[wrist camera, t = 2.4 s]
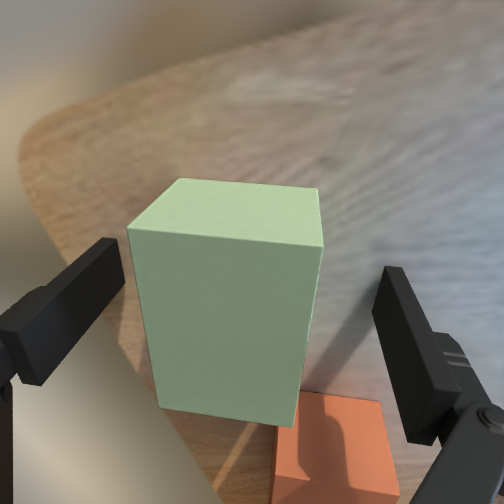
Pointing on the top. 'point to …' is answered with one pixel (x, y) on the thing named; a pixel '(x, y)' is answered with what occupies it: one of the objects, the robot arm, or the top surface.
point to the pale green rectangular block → (228, 295)
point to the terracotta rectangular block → (333, 454)
